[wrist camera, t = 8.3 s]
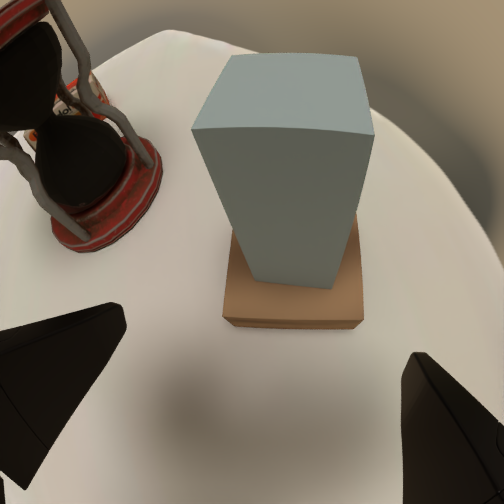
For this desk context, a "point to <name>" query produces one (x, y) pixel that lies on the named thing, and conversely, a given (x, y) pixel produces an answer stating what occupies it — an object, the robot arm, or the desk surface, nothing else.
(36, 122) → the hourglass
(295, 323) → the walnut block
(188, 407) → the desk surface
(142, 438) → the desk surface
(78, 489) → the desk surface
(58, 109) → the medicine box
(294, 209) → the slate post
